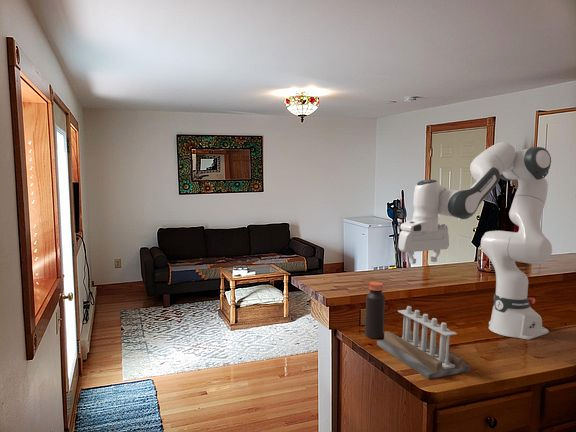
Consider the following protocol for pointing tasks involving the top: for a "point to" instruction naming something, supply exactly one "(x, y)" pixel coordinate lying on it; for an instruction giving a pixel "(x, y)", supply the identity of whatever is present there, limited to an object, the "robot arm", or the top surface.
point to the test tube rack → (434, 329)
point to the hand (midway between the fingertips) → (423, 262)
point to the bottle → (375, 311)
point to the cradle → (420, 356)
